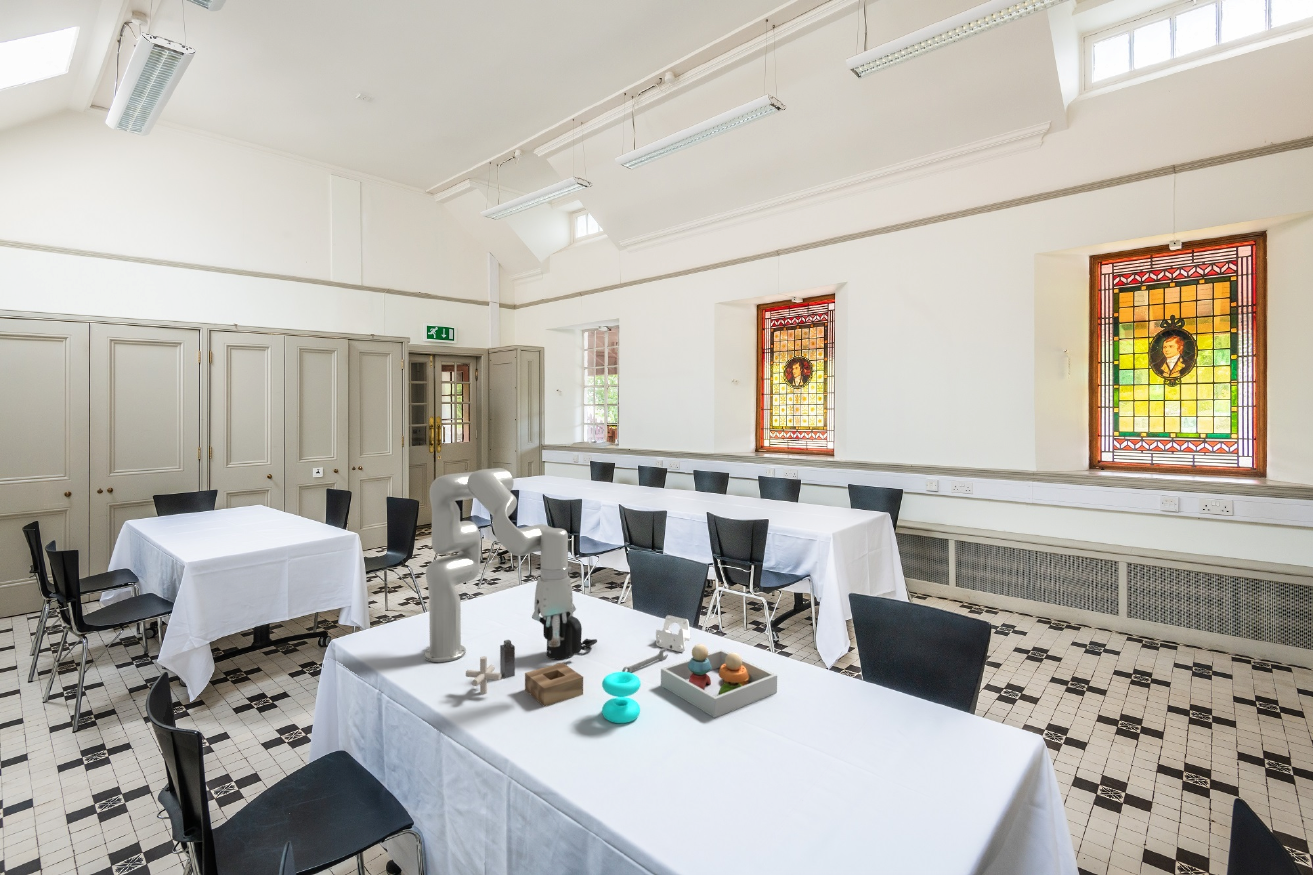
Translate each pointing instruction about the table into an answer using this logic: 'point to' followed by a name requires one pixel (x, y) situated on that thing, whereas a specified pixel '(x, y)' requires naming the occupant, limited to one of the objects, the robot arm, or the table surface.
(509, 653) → the square bit
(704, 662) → the stacking toy figures
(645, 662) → the combination wrench
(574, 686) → the socket block
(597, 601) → the table surface
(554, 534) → the robot arm
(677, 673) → the parts tray
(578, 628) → the milk frother
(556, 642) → the round bit
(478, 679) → the pipe connector
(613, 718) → the donuts
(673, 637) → the mounting bracket
